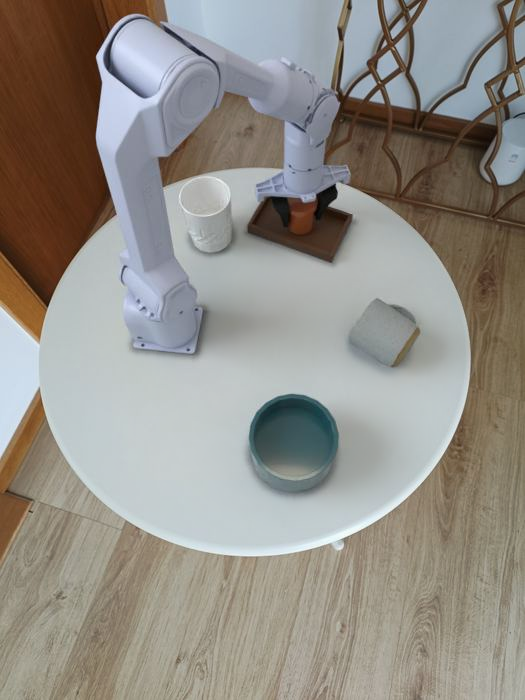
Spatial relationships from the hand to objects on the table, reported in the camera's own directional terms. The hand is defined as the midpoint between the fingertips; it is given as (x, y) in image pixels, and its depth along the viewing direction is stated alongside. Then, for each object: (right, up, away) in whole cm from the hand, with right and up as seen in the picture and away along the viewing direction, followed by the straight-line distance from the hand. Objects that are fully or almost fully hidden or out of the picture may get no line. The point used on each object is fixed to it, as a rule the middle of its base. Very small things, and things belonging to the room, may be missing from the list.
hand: (300, 219), depth 88 cm
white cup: (-15, -3, +2) cm, 15 cm away
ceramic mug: (+12, -20, -7) cm, 24 cm away
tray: (0, -1, +2) cm, 2 cm away
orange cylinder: (0, -1, +1) cm, 1 cm away
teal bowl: (-2, -36, -15) cm, 39 cm away
